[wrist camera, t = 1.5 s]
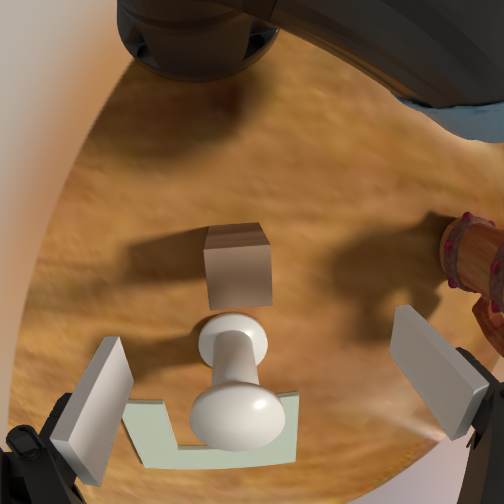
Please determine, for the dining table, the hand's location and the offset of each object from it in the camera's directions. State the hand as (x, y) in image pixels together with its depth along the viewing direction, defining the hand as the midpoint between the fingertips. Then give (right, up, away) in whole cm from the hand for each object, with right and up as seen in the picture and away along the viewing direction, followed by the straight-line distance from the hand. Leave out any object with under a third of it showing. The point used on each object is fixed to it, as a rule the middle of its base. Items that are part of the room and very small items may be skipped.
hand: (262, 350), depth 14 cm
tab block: (-2, +5, +16) cm, 17 cm away
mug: (+24, +3, +19) cm, 31 cm away
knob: (-2, -5, +18) cm, 19 cm away
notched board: (-6, -19, +22) cm, 30 cm away
